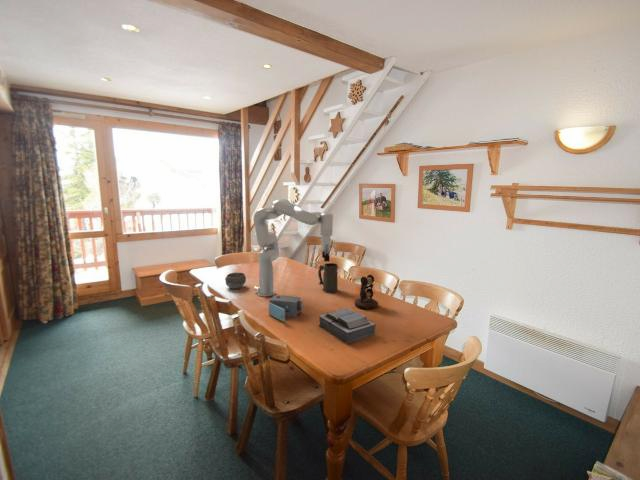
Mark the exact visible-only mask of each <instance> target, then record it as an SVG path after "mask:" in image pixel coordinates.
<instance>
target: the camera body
mask: <svg viewBox="0 0 640 480" xmlns="http://www.w3.org/2000/svg"><path fill="white" fill-rule="evenodd" d="M269 303H272V304H274V305H276V306H278V307H281V308H283V309H285V317H290V318H297V317H298V315H299V313H300V312H301V311H302V310H303V308H304V307H303V306H304V303H303V301H302V300H301V296H295V295H293V296H292V295H291V296H290V295H279V294H275V295H273V296H272V297H271V298H270V299H269Z"/></svg>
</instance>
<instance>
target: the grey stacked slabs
mask: <svg viewBox="0 0 640 480" xmlns="http://www.w3.org/2000/svg"><path fill="white" fill-rule="evenodd" d="M318 319H319V320H318V321H319V324H318V327H319V328H321V329H323V330H324V331H326V332H327V333H328V334H330V335H331V336H333V337H335V338H336V339H337V340H339V341H341V342H342V343H344V344H346V345H350V344H353V343H356V342H358V341H362V340H365V339H367V338H370V337H373V336H375V334H376V333H375V332H376V331H375V330H376V325H377V324H376V323H374V322H372V321H370V320H368V318H367V316H366V315H365V314H362V313H360V312H355V311H354V310H352V309H349V308H343V309H341V310H337V311H333V312H327V313H326V314H321V315H318Z"/></svg>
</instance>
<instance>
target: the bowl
mask: <svg viewBox="0 0 640 480" xmlns="http://www.w3.org/2000/svg"><path fill="white" fill-rule="evenodd" d="M224 279H225V285H226V286H227V287H228V288H229V289H234V290H236V289H239V288H242V287H243V286H244V285H245V283H246V281H247V277H246V275H245V273H244V272H237V271H236V272H231V273H228V274H226V276H225V278H224Z"/></svg>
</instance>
